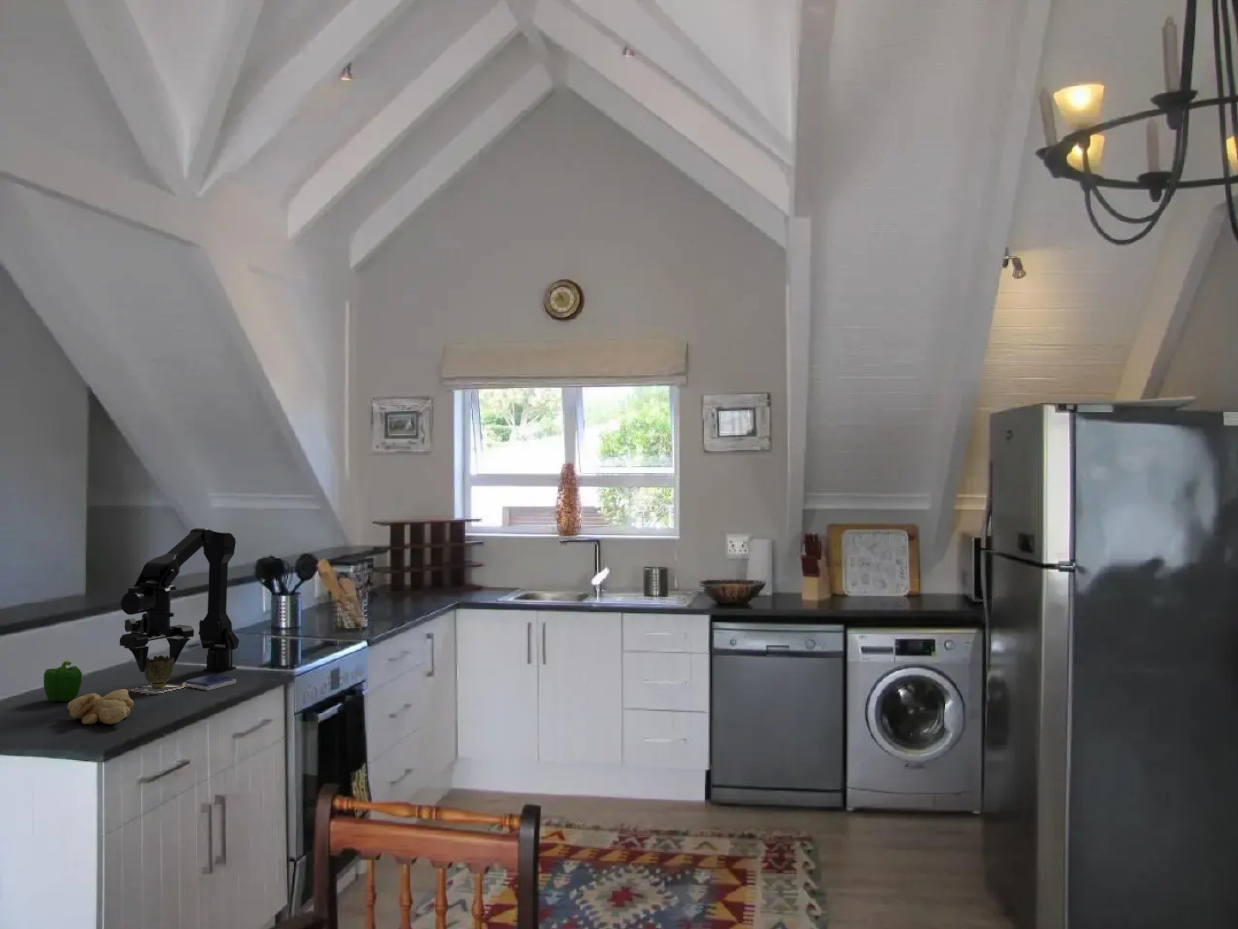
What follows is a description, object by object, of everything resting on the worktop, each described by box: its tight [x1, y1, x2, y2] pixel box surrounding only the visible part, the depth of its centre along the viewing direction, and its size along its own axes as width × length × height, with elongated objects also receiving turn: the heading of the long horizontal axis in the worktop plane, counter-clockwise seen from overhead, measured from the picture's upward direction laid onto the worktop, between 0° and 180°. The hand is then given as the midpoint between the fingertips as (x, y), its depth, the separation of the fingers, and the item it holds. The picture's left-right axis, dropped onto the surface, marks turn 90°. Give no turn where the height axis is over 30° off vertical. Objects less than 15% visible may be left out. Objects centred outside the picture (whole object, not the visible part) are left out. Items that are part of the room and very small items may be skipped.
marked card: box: [131, 683, 185, 694], centre depth 251 cm, size 10×10×1 cm
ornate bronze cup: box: [143, 654, 175, 689], centre depth 251 cm, size 8×7×8 cm
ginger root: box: [66, 688, 134, 725], centre depth 221 cm, size 16×16×8 cm
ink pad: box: [182, 673, 237, 691], centre depth 257 cm, size 10×9×2 cm
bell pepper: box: [43, 660, 83, 703], centre depth 238 cm, size 8×8×10 cm
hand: (157, 668), depth 251 cm, fingers open, 9 cm apart
